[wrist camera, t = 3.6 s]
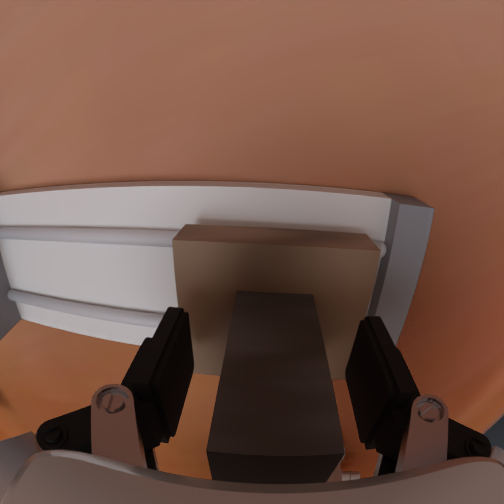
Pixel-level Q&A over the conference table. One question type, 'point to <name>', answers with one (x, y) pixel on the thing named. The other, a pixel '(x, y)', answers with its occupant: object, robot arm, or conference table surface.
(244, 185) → the rail track
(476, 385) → the conference table surface
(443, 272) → the conference table surface
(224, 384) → the carriage
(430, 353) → the conference table surface
